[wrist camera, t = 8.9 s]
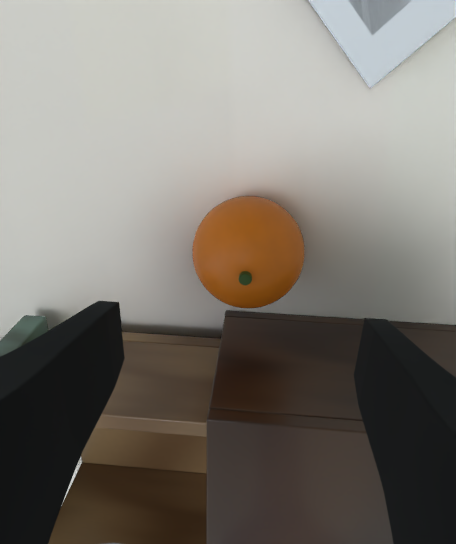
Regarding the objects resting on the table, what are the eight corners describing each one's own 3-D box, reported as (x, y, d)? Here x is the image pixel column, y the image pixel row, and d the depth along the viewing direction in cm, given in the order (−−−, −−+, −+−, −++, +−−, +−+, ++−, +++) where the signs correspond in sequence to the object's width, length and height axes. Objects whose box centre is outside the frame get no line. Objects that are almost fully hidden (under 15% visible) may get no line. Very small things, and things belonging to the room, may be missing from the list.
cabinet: (221, 471, 28) (205, 606, 21) (225, 310, 23) (206, 419, 16) (446, 491, 27) (507, 640, 20) (505, 328, 22) (616, 453, 15)
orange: (252, 294, 22) (247, 353, 18) (181, 233, 21) (156, 280, 17) (322, 231, 20) (337, 279, 16) (248, 161, 19) (242, 191, 15)
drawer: (-17, 453, 28) (-88, 549, 23) (-63, 308, 23) (-167, 384, 18) (261, 479, 27) (259, 587, 21) (274, 331, 22) (275, 421, 17)
